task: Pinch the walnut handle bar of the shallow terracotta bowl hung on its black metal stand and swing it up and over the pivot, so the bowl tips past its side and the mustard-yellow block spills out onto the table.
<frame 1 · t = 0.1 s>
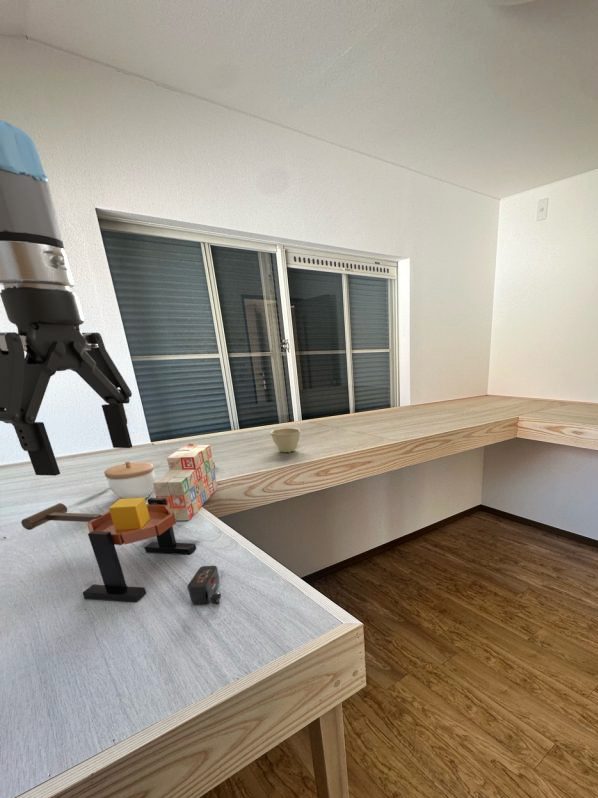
hand: (89, 459, 58), 22 cm above the table, tool pointing down, fingers open, 13 cm apart
tipping bowl: (102, 519, 70), point 10 cm above the table, hinge at 0.0°, touching block
block: (133, 524, 69), point 9 cm above the table, touching tipping bowl
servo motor: (209, 596, 66), on the table
bowl stand: (146, 571, 73), on the table
trinket box: (136, 497, 107), on the table
stack of blocks: (192, 504, 102), on the table
flower pot: (287, 451, 148), on the table
ceramic sculpture: (196, 472, 127), on the table
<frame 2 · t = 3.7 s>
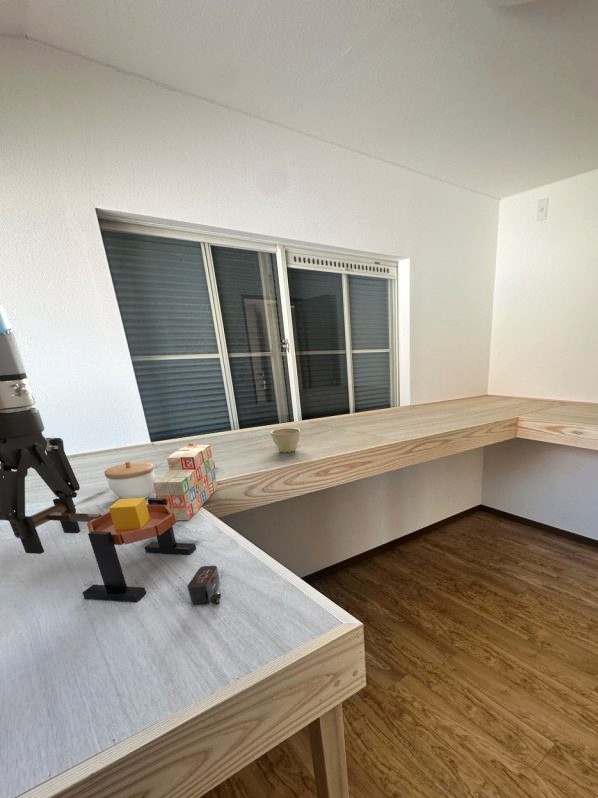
hand: (54, 541, 73), 5 cm above the table, tool pointing down, fingers closed on tipping bowl, 7 cm apart
tipping bowl: (102, 519, 70), point 10 cm above the table, hinge at 0.0°, touching block, gripper
everything else where it was.
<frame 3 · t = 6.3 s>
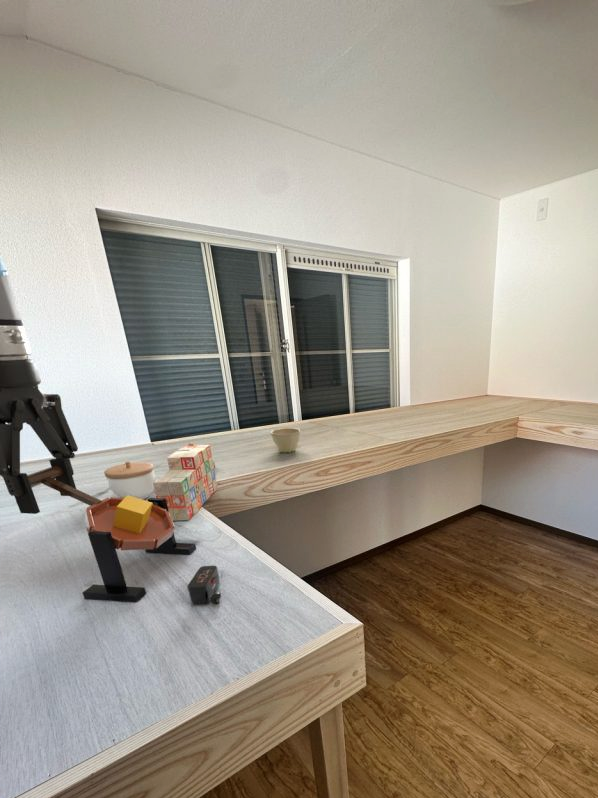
hand: (51, 503, 70), 12 cm above the table, tool pointing down, fingers closed on tipping bowl, 7 cm apart
tipping bowl: (100, 506, 69), point 12 cm above the table, hinge at 25.8°, touching block, gripper
block: (131, 523, 70), point 9 cm above the table, tilted 26°, touching tipping bowl
everything else where it was.
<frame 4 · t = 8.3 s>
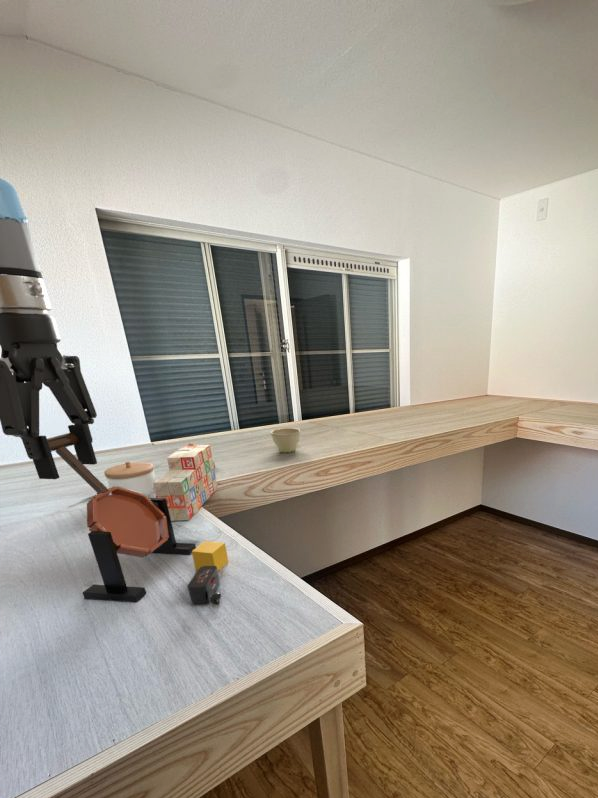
hand: (69, 470, 67), 18 cm above the table, tool pointing down, fingers closed on tipping bowl, 7 cm apart
tipping bowl: (105, 495, 68), point 14 cm above the table, hinge at 52.7°, touching gripper
block: (220, 557, 73), point 2 cm above the table, tilted 90°
everything else where it was.
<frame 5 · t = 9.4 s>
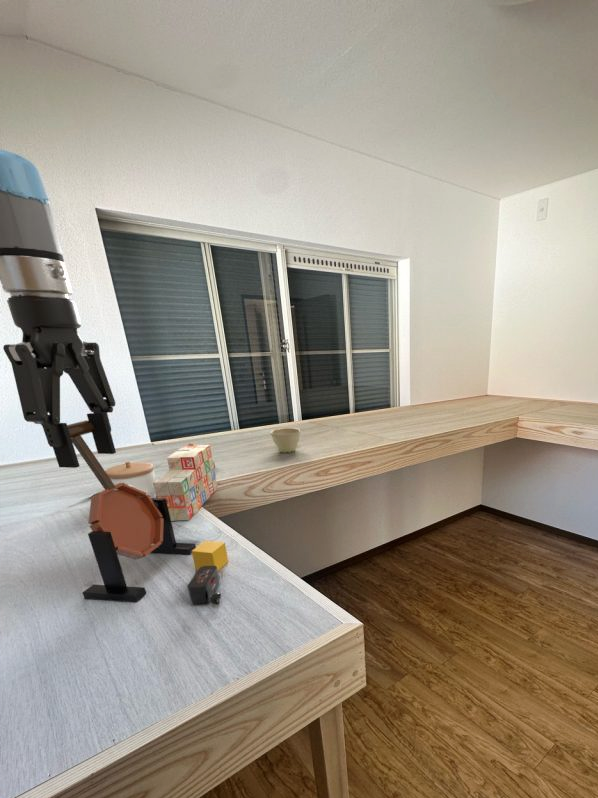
hand: (89, 459, 66), 20 cm above the table, tool pointing down, fingers open, 7 cm apart
tipping bowl: (111, 491, 67), point 15 cm above the table, hinge at 67.3°
everything else where it was.
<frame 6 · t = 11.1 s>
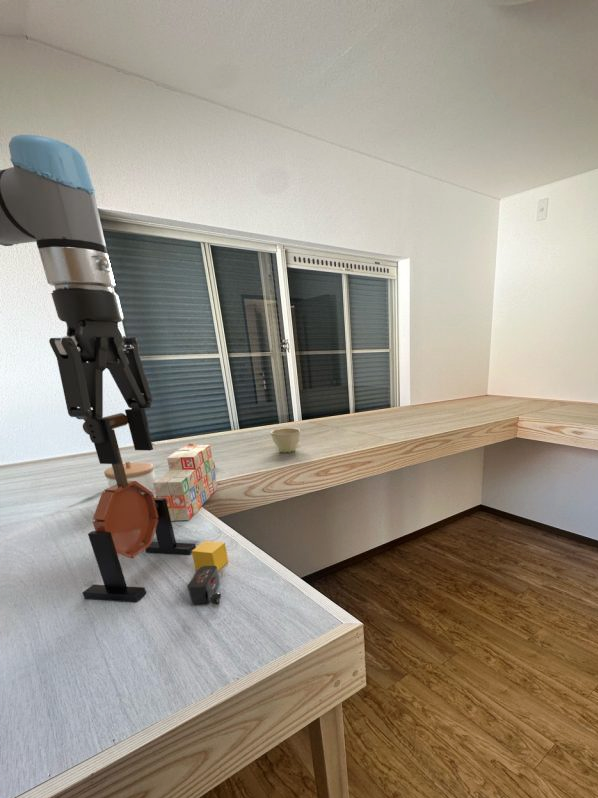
hand: (128, 455, 65), 21 cm above the table, tool pointing down, fingers closed on tipping bowl, 7 cm apart
tipping bowl: (122, 488, 67), point 15 cm above the table, hinge at 90.6°, touching gripper
everything else where it was.
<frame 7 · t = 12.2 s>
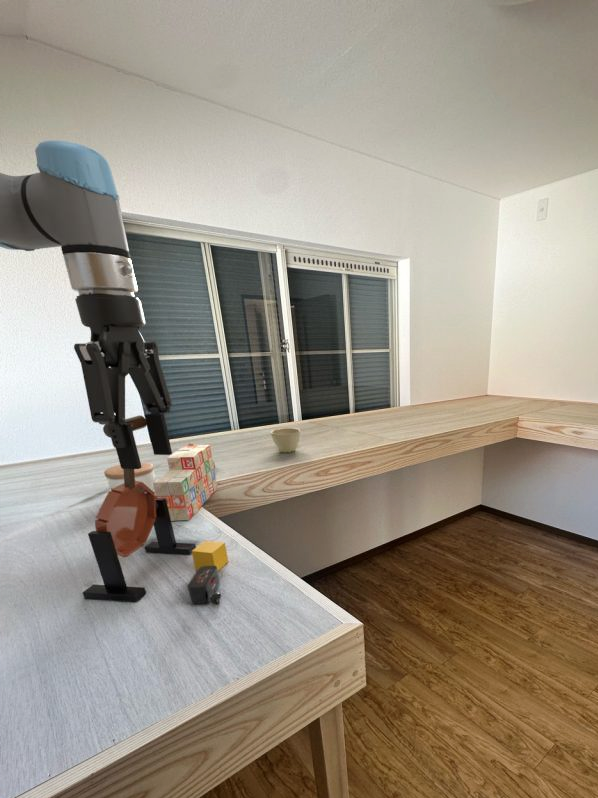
hand: (148, 460, 64), 20 cm above the table, tool pointing down, fingers closed on tipping bowl, 7 cm apart
tipping bowl: (128, 489, 67), point 15 cm above the table, hinge at 101.8°, touching gripper
everything else where it was.
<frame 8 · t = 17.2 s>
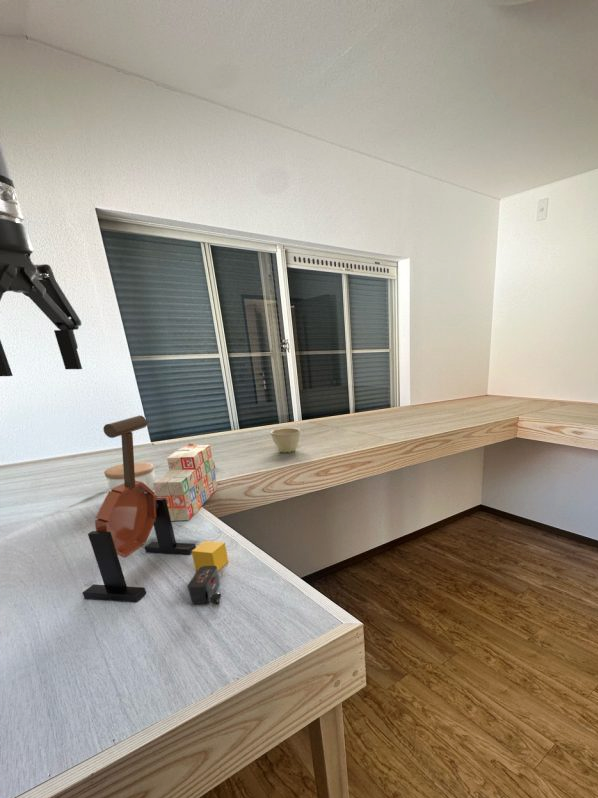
hand: (41, 372, 69), 33 cm above the table, tool pointing down, fingers open, 13 cm apart
tipping bowl: (128, 489, 67), point 15 cm above the table, hinge at 102.0°
everything else where it was.
at the end: tipping bowl reached +102° during the clip, +102° at the end; block point 2.0 cm above the table; block touching table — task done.
